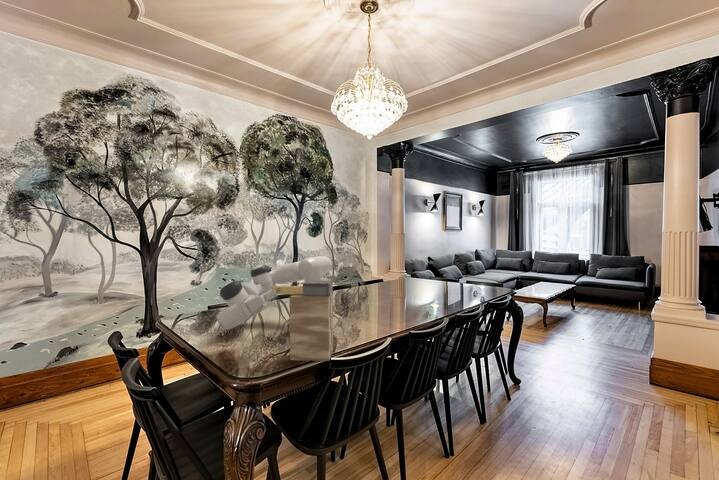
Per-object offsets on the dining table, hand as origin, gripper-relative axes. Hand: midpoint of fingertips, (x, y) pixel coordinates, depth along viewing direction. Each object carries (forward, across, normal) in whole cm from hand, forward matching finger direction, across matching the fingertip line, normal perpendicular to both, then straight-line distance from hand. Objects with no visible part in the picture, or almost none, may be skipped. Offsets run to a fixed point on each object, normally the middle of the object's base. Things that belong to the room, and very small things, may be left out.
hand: (279, 289), depth 137 cm
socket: (+13, 0, -10) cm, 17 cm away
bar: (+7, 0, -6) cm, 9 cm away
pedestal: (-2, 0, -31) cm, 31 cm away
